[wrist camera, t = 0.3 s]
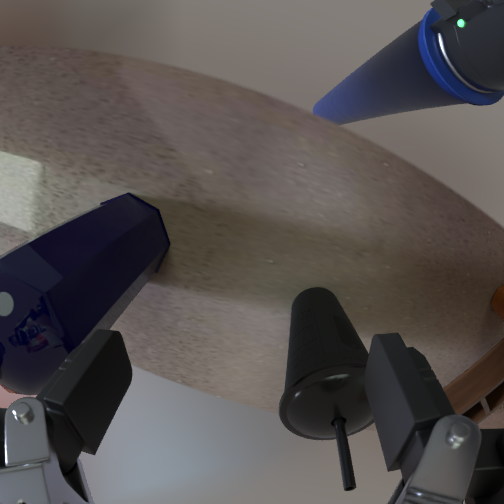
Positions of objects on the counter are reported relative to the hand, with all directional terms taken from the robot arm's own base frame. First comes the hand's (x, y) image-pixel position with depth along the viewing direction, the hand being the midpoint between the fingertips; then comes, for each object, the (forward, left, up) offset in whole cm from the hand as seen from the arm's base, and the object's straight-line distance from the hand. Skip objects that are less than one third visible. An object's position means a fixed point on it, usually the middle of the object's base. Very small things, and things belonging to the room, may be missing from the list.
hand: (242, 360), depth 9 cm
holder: (+39, +10, -20) cm, 45 cm away
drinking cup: (+11, -3, -20) cm, 23 cm away
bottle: (-7, -12, -20) cm, 24 cm away
